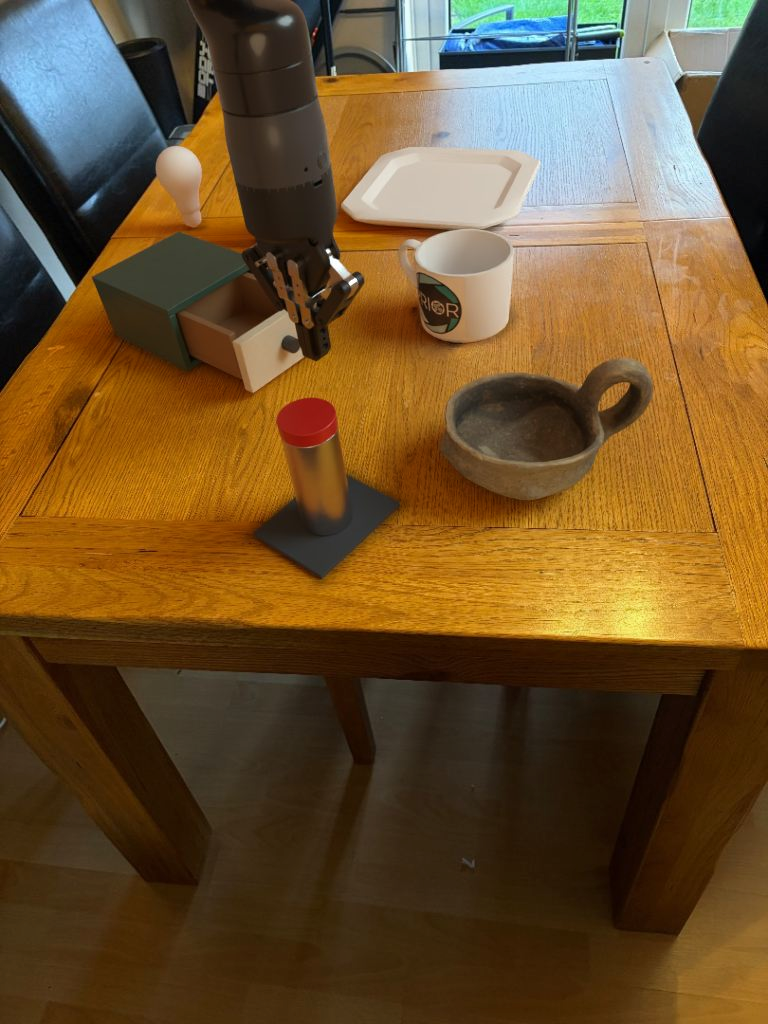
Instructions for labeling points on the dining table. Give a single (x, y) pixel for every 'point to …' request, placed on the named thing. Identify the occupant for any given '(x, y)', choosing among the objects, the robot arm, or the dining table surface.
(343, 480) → the jar
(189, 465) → the dining table surface
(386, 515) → the mat
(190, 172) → the lightbulb
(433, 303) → the mug
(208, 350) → the drawer
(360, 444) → the dining table surface
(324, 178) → the robot arm
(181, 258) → the cabinet
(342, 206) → the plate
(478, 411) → the bowl
